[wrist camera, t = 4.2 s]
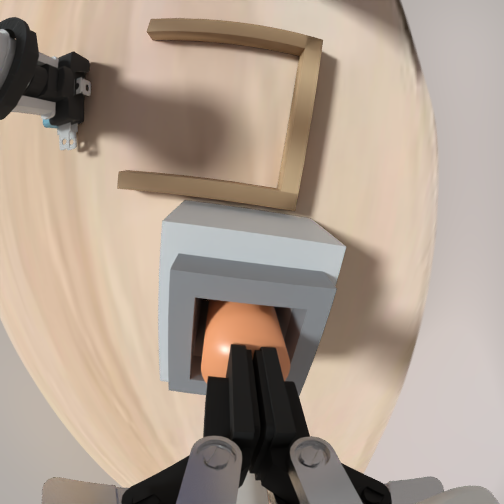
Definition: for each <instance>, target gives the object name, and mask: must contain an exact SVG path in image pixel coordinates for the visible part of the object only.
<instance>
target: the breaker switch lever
mask: <svg viewBox="0 0 504 504" xmlns="http://www.w3.org/2000/svg"><path fill="white" fill-rule="evenodd" d="M231 344H236V345H246V349H249V350H251V351H252V360H253V356H254V352H255V350H260V348H261V347H273V348H276V350H277V354H278V358H279V362H280V366H281V370H282V374H283V379H284V381H285V380H286V378H287V377H288V374H289V372H290V359H289V356H288V352H287V349H286V345H285V342H284V338H283V335H282V331H281V328H280V325H279V321H278V318H277V314H276V311H275V307H274V306H266V305H256V304H246V303H237V302H229V301H220V300H212V299H209V304H208V312H207V320H206V328H205V336H204V345H203V353H202V362H201V373H202V376H203V379H204V380H205V382H206V383H207V380H208V376H213V377H223V378H226V372H227V366H228V359H229V353H230V347H231Z"/></svg>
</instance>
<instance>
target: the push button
mask: <svg viewBox="0 0 504 504" xmlns="http://www.w3.org/2000/svg"><path fill="white" fill-rule="evenodd" d="M15 38H16V40H15ZM89 67H90V63H89V61H88V60H87V59H85V58H84V57H82V56H80V55H79V54H77V53H75V52H71V53H69V54H66V55H64V56H61V57H59V58H57V57H55V56H54V57H49V56H47V55H44V54H42V53H40V52H39V50H38V44H37V36H36V33H35V32H33V31H31V30H30V29H29V26H28V24H27V23H26V22H25V21H23V20H21V19H19V18H16V17H12V18H8V19H6V20H3V21H2V22H0V120H2V119H4V118H5V117H6V116H7V115H8V114H9V113H10V112H19V113H27V114H35V115H41V118H42V119H43V125H44V127H46V128H57V132H58V135H59V139H60V150H64V149H67V150H71V149H75V148H76V147H77V142H76V132H78V124H80V123H83V121H84V95H86V96H90V95H91V83H90V81H87V80H85V79H84V77H85V73H88V72H89ZM86 85H87V86H88V91H87V90H86ZM64 139H66V140H67V143H66V144H65V145H63V143H62V142H63V140H64ZM71 139H73V140H74V143H73V144H72V145H70V140H71Z"/></svg>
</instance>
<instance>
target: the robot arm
mask: <svg viewBox="0 0 504 504" xmlns="http://www.w3.org/2000/svg"><path fill="white" fill-rule="evenodd" d="M248 471H249V472H250V474H255V480H261V485H262V486H263V487H265V488H266V489H268V495H269V498H270V501H271V504H499V503H498V501H497V500H496V498H495V497H494V495H493V494H492V493H491V492H490V491H489V490H487V489H486V488H483V487H481V486H463V487H458V488H454V489H450V490H448V491H445V492H444V489H443V485H442V483H441V482H440V481H439V480H438V479H437V478H435V477H424V478H416V479H409V480H400V481H389V482H388V483H387V484H383V483H381V482H379V481H377V480H375V479H373V478H371V477H368V476H366V475H364V474H362V473H360V472H358V471H356V470H354V469H352V468H350V467H348V466H346V465H344V464H342V463H341V462H340V460H339V458H338V456H337V455H336V453H335V451H334V449H333V448H332V446H331V445H330V444H329V443H328V442H326V441H325V440H323V439H321V438H318V437H312V436H311V437H310V435H309V431H308V428H307V424H306V421H305V417H304V414H303V410H302V406H301V403H300V399H299V396H298V392H297V389H296V385H295V383H294V382H293V381H284V379H283V374H282V370H281V366H280V362H279V358H278V354H277V350H276V348H273V347H261V348H260V350H255V352H254V356H253V360H252V351H251V350H249V349H246V345H236V344H231V347H230V353H229V359H228V366H227V372H226V378H223V377H213V376H208V380H207V390H206V402H205V417H204V434H203V438H202V439H199V440H198V441H197V442H196V443H195V444H194V445H193V447H192V449H191V453H190V455H189V456H187V457H186V458H184V459H182V460H181V461H179V462H177V463H175V464H174V465H172V466H170V467H168V468H167V469H165V470H163V471H161V472H159V473H157V474H155V475H153V476H152V477H150V478H148V479H146V480H144V481H142V482H140V483H138V484H136V485H133V486H131V487H130V488H121V487H120V488H119V487H116V486H115V485H107V484H97V483H90V482H83V481H76V480H71V479H65V478H60V477H59V478H58V477H57V478H56V477H53V478H50V479H48V480H47V481H46V482H45V483H44V485H43V489H42V504H236V502H237V495H238V488H240V487H241V486H242V485H243V483H244V480H245V478H246V476H247V473H248Z"/></svg>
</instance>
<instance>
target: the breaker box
mask: <svg viewBox="0 0 504 504" xmlns="http://www.w3.org/2000/svg"><path fill="white" fill-rule="evenodd" d="M345 250H346V246H345V245H344V244H342V243H341V242H340V241H339V240H337V239H336V238H335V237H334V236H332V235H331V234H330V233H329V232H327V231H326V230H325V229H324V228H322V227H321V226H320V225H319V224H317V223H316V222H315V221H313V220H312V219H311V218H306V217H300V216H294V215H288V214H282V213H276V212H269V211H263V210H256V209H249V208H242V207H235V206H228V205H221V204H213V203H206V202H198V201H190V200H184V201H183V202H182V203H181V204H180V205H179V206H178V207H177V208H176V209H175V210H174V211H172V212H171V213H170V214H169V215H168V216H167V217H166V218H165V219H164V220H163V221H162V233H161V248H160V268H159V305H158V330H159V366H160V381H166V382H169V390H171V391H178V392H185V393H192V394H200V395H206V390H207V383H206V382H205V380H204V379H203V376H202V373H201V362H202V353H203V345H204V336H205V328H206V320H207V312H208V304H209V301H205V300H202V299H203V298H204V299H212V300H220V301H229V302H237V303H246V304H256V305H266V306H274V307H275V311H276V314H277V318H278V321H279V325H280V328H281V331H282V335H283V338H284V342H285V345H286V349H287V352H288V356H289V359H290V372H289V374H288V377H287V378H286V380H285V381H293V382H294V383H295V385H296V389H297V392H298V396H299V395H300V393H301V390H302V388H303V385H304V383H305V380H306V378H307V375H308V372H309V370H310V367H311V365H312V362H313V359H314V356H315V354H316V351H317V348H318V345H319V342H320V340H321V337H322V334H323V331H324V328H325V325H326V322H327V319H328V316H329V313H330V310H331V306H332V303H333V300H334V297H335V293H336V290H337V289H336V287H335V286H336V282H337V279H338V275H339V272H340V268H341V265H342V261H343V257H344V253H345Z"/></svg>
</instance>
